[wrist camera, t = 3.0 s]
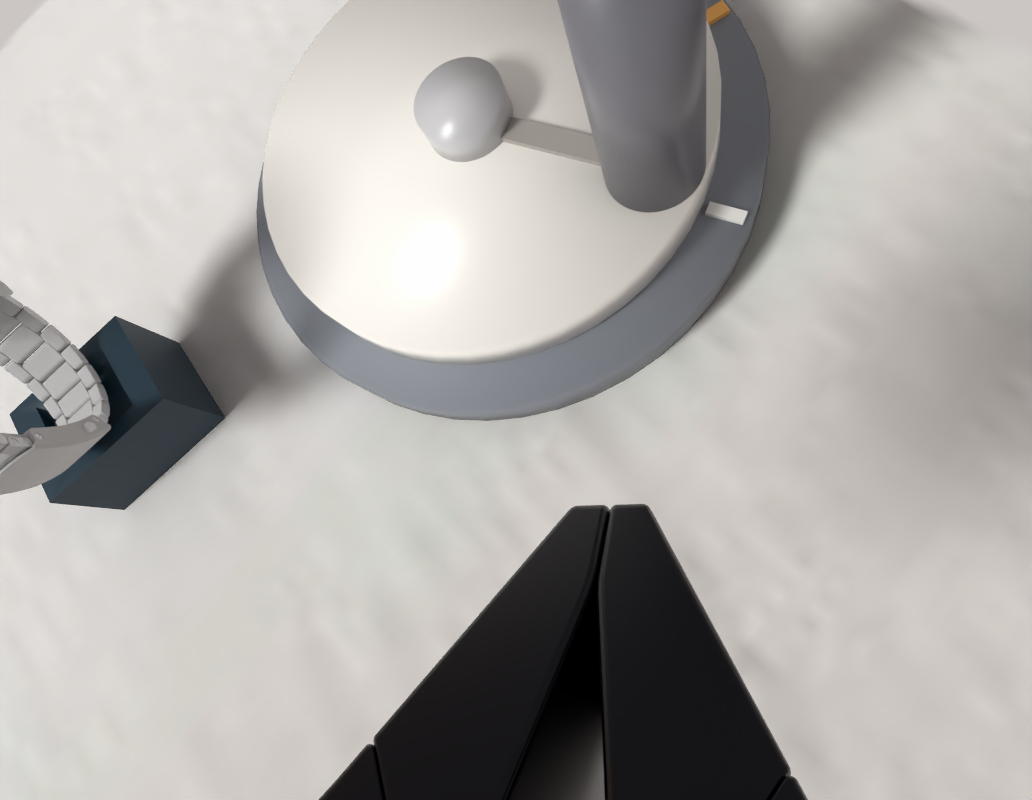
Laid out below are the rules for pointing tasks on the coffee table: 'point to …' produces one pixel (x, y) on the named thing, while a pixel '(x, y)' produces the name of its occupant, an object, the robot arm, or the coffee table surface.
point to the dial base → (615, 340)
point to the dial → (490, 166)
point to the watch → (97, 409)
